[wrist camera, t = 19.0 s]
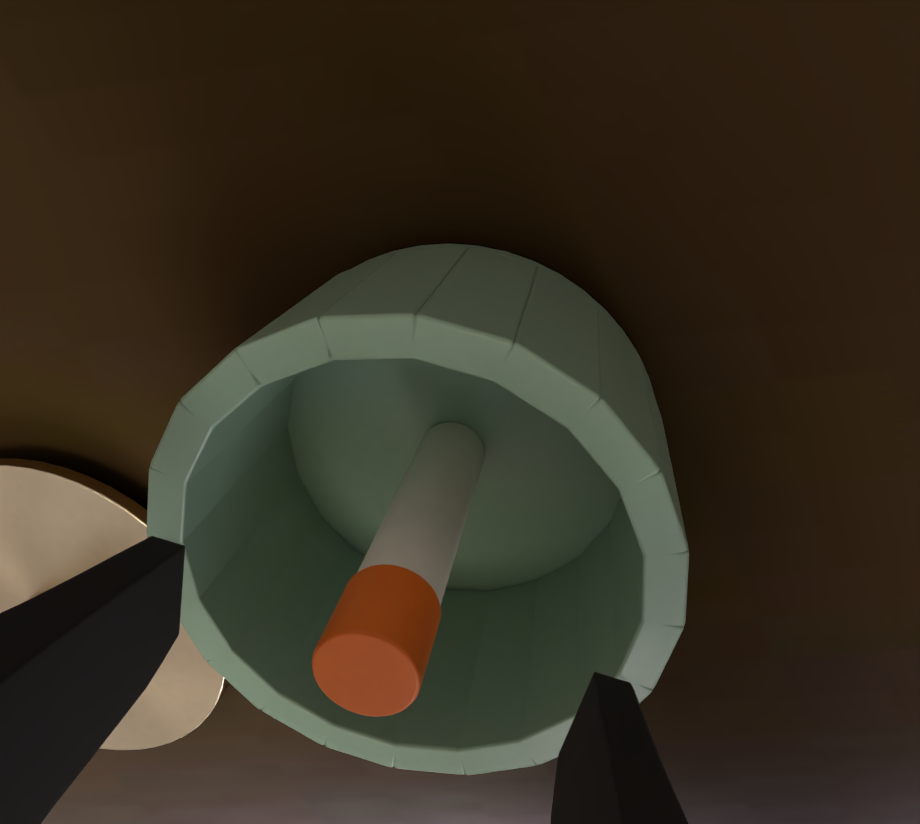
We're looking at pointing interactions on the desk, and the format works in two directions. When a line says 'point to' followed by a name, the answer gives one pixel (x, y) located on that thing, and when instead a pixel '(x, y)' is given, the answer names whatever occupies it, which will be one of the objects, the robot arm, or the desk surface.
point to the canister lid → (78, 549)
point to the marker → (401, 581)
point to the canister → (379, 476)
